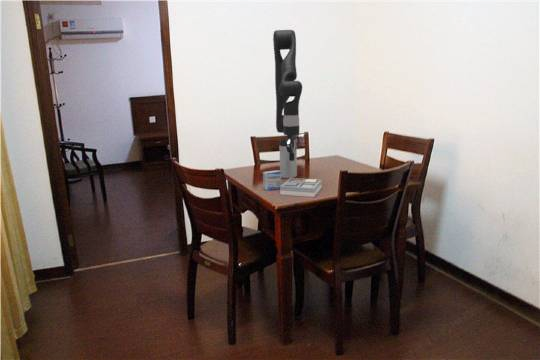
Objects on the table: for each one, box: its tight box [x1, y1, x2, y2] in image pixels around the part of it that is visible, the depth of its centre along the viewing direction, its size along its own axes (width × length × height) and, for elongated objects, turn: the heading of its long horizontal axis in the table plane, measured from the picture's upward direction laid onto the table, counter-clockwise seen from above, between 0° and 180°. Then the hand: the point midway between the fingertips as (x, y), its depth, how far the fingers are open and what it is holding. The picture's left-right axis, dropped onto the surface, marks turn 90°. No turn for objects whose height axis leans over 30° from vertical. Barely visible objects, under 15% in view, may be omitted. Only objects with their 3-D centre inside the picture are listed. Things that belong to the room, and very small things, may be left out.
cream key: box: [305, 178, 318, 183], centre depth 192 cm, size 5×5×2 cm
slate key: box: [285, 182, 298, 187], centre depth 188 cm, size 5×5×2 cm
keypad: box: [279, 177, 323, 198], centre depth 191 cm, size 16×16×4 cm
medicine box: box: [262, 169, 282, 192], centre depth 196 cm, size 8×4×9 cm, turn 114°
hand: (291, 160), depth 194 cm, fingers closed
